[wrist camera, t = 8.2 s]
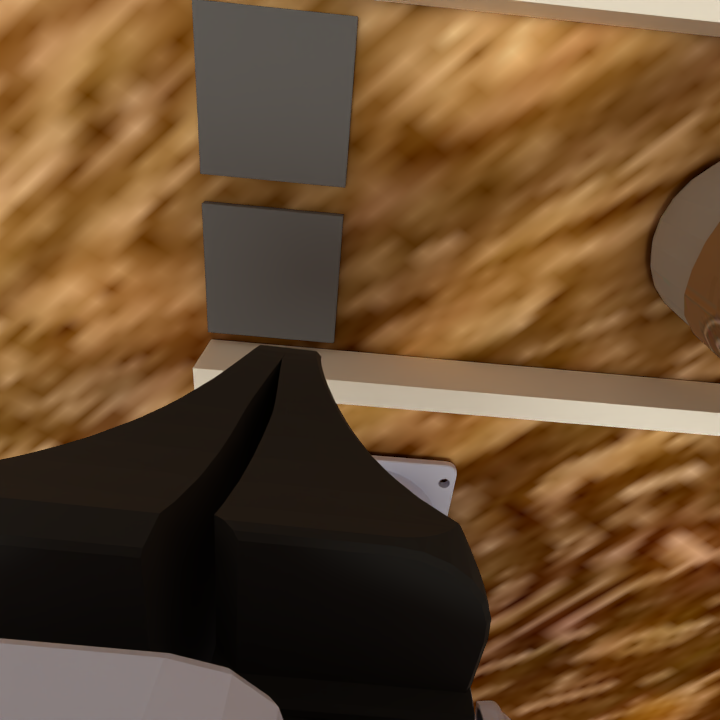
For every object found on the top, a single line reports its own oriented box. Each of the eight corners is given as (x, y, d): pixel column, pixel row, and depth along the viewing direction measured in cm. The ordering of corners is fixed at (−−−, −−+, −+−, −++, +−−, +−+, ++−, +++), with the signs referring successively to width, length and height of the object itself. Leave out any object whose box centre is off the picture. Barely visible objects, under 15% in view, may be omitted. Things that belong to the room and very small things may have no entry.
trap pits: (334, 338, 21) (333, 343, 21) (210, 328, 21) (208, 332, 21) (358, 17, 16) (357, 16, 16) (195, 1, 16) (191, -2, 16)
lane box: (862, 416, 22) (917, 452, 20) (212, 360, 22) (194, 391, 19) (1103, 38, 16) (1221, 30, 14) (192, -61, 15) (162, -87, 13)
